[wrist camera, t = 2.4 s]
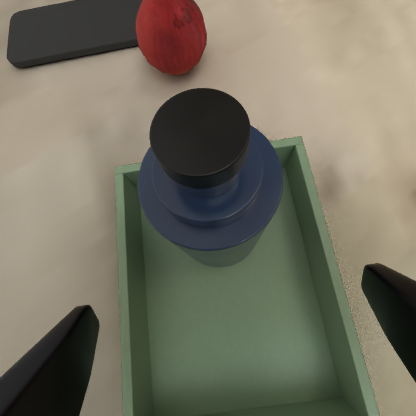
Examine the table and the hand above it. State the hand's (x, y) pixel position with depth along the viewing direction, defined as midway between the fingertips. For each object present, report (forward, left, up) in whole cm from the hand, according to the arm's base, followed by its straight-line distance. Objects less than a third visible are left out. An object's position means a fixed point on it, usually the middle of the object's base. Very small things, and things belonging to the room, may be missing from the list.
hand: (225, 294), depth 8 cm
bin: (+1, 0, -11) cm, 11 cm away
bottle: (+4, +2, -11) cm, 12 cm away
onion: (+19, +9, -11) cm, 24 cm away
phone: (+22, +21, -11) cm, 32 cm away
